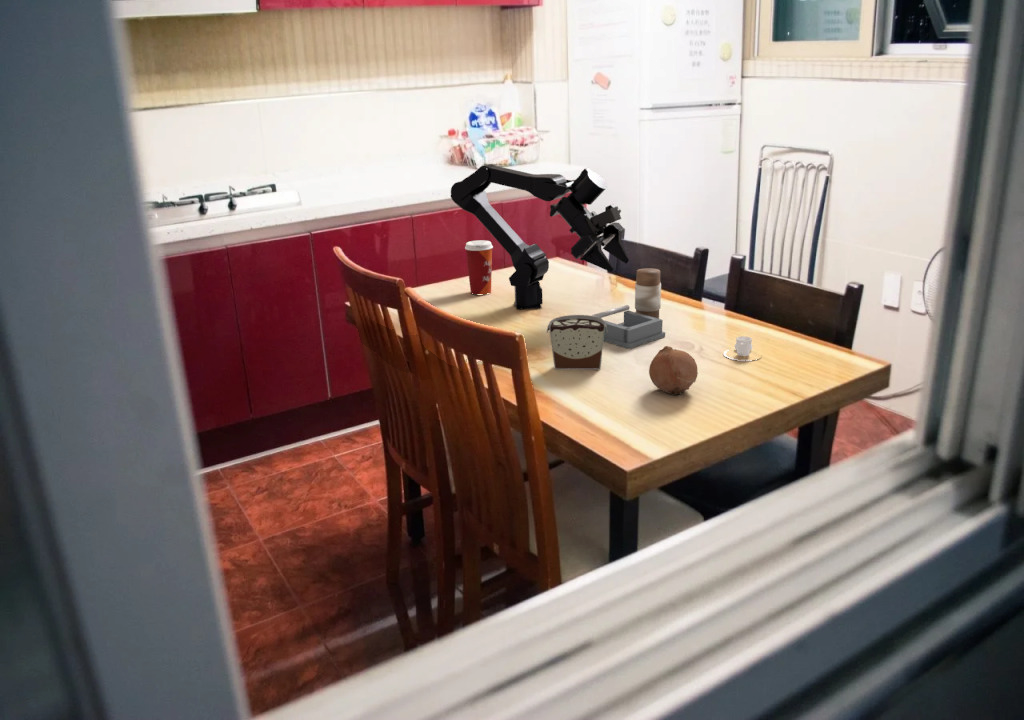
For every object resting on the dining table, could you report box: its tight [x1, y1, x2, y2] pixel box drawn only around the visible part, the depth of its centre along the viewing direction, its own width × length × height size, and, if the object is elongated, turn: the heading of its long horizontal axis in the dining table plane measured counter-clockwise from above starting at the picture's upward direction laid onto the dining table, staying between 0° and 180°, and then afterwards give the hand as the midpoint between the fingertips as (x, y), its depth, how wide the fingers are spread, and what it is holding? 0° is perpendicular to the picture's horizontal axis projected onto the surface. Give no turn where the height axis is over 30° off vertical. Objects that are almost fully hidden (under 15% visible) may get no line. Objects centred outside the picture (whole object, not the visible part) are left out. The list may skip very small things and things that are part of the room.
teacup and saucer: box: [722, 335, 758, 362], centre depth 175 cm, size 9×8×4 cm
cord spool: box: [634, 267, 662, 319], centre depth 197 cm, size 6×6×12 cm
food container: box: [546, 314, 608, 371], centre depth 172 cm, size 12×6×10 cm, turn 84°
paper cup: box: [464, 239, 494, 294], centre depth 227 cm, size 8×8×14 cm
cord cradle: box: [591, 304, 666, 350], centre depth 188 cm, size 12×12×5 cm
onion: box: [648, 345, 699, 395], centre depth 157 cm, size 9×9×10 cm
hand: (620, 266), depth 198 cm, fingers open, 9 cm apart
